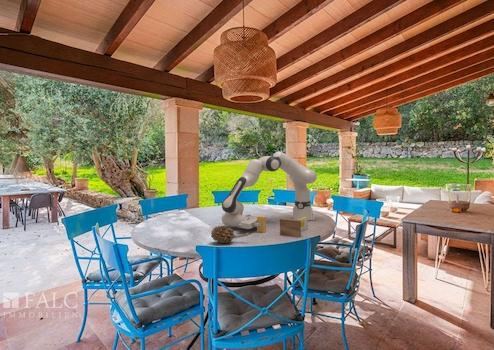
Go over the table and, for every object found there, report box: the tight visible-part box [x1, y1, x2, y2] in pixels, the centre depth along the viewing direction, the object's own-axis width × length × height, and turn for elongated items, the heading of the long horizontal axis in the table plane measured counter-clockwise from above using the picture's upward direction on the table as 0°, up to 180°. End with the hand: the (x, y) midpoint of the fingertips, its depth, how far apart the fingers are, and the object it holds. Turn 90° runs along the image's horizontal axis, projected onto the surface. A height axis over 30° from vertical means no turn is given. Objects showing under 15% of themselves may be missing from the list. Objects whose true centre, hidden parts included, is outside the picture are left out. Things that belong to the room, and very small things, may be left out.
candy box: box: [299, 217, 309, 233], centre depth 184 cm, size 16×2×8 cm, turn 141°
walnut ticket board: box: [279, 217, 302, 238], centre depth 175 cm, size 4×12×10 cm, turn 63°
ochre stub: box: [256, 215, 267, 233], centre depth 184 cm, size 3×5×10 cm, turn 63°
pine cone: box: [210, 225, 250, 244], centre depth 162 cm, size 22×10×10 cm, turn 96°
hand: (262, 223), depth 183 cm, fingers closed on ochre stub, 3 cm apart
